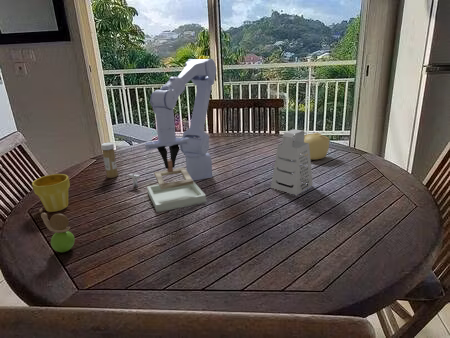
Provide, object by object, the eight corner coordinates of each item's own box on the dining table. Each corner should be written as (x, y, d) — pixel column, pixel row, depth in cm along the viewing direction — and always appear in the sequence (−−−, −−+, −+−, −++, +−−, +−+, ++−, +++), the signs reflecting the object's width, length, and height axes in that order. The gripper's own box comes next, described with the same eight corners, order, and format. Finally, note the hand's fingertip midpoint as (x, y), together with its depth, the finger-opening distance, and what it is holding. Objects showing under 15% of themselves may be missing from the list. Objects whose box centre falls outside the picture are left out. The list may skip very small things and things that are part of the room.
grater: (312, 186, 117) (316, 130, 110) (296, 196, 110) (299, 137, 103) (287, 179, 124) (289, 126, 117) (270, 188, 117) (271, 132, 110)
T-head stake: (129, 186, 123) (127, 175, 121) (132, 184, 124) (130, 173, 123) (139, 188, 121) (137, 176, 120) (142, 186, 123) (140, 174, 121)
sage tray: (191, 184, 122) (191, 178, 121) (206, 202, 108) (205, 195, 107) (147, 193, 117) (146, 186, 116) (156, 212, 103) (156, 205, 102)
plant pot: (38, 218, 102) (31, 188, 99) (39, 205, 111) (32, 177, 107) (75, 209, 107) (69, 181, 103) (72, 198, 115) (67, 171, 112)
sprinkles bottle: (119, 176, 133) (114, 143, 128) (108, 179, 130) (102, 146, 126) (116, 173, 136) (111, 141, 132) (105, 175, 134) (99, 143, 129)
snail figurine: (54, 245, 88) (44, 204, 83) (79, 243, 88) (70, 202, 84) (45, 257, 82) (34, 214, 78) (72, 255, 83) (62, 212, 79)
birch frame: (193, 183, 108) (192, 170, 106) (161, 189, 104) (159, 175, 102) (184, 169, 117) (183, 156, 114) (154, 174, 113) (153, 161, 111)
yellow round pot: (331, 155, 148) (332, 131, 144) (322, 163, 138) (324, 138, 135) (306, 152, 154) (307, 129, 150) (296, 159, 144) (297, 135, 141)
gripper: (145, 133, 102) (150, 174, 107) (191, 127, 107) (193, 167, 112) (141, 128, 109) (146, 167, 113) (185, 123, 114) (188, 161, 118)
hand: (169, 167), depth 113 cm, fingers closed on birch frame
